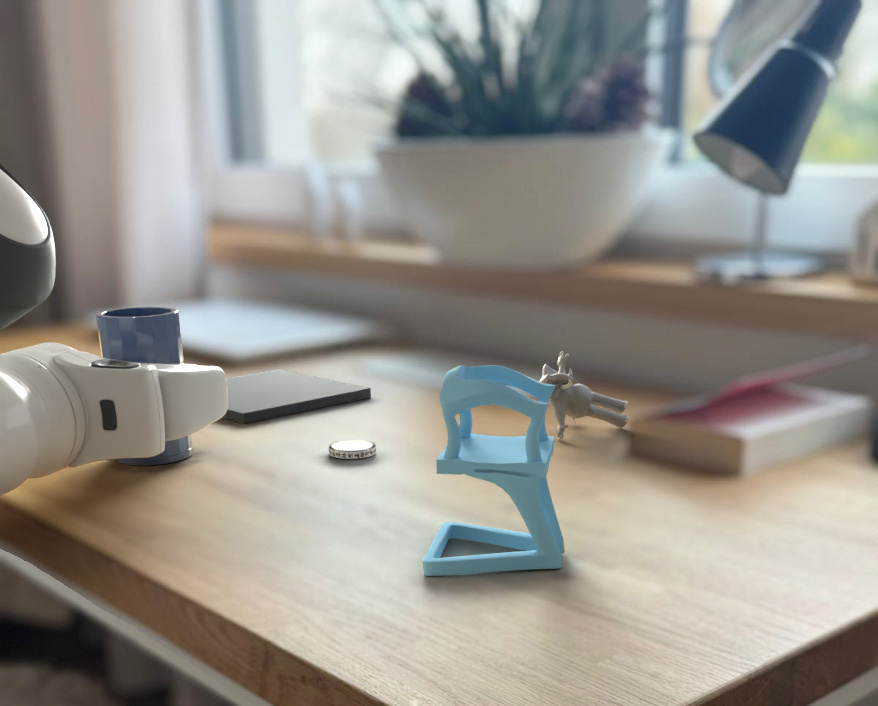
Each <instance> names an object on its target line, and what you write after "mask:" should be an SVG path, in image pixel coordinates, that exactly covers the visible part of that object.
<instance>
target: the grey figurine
mask: <svg viewBox="0 0 878 706" xmlns="http://www.w3.org/2000/svg"><path fill="white" fill-rule="evenodd" d="M569 356H570V354H569V353H566V354H565V350H561V351H560V352H559V353H558V357H557V358H558V359H557V362H556V366H557V367H558V371H556V370H555V369H553V368H552V367H550V366H549V365H548V363H545V364H544V365H543V366H542V370H541V371H542V372H541V373H542V376H541V378H540V379H539V380H538V381H539V382H542V383H545V384H551V385H555V388H554V390H553V393H552V395H551V397H550V399H549V404H550V406H551V407H552V408H553V411H554V417H555V420H556V423H557V427H556V429H555V434H556V436H557V438H556V440H558V441H561V440H562V439H563V437H564V432H565V430H566V428H569V425H568V424H566V421H565V420H566V417H570V418H571V419H572V421H573V422H574V424H575V425H576V423H577V422H576V419H581V418H582V419H583V418H586V417H590V418H593V419H597V420H601V421H603V422H606V423H609V424H611V425H613V426H615V427H618V428H620V429H622V428H624V427H626V425H627V424H628V423H629V419H630V416H629V414H622V413H623V412H625V410H626V409H627V407H628V404H629V402H628V401H627V400H622V399H617V398H613V397H611V396H607V395H603V394H601V393H598V392H595V391H592V389H591V388H589V386H587V385H585V384H582V383H575V382H574V381H575V379H574V377H573V370H572V368H571V367H569V372H568V374H567V373H566V366H567V361H568V359H569ZM574 383H575V384H574Z"/></svg>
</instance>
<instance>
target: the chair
mask: <svg viewBox="0 0 878 706" xmlns="http://www.w3.org/2000/svg"><path fill="white" fill-rule="evenodd" d="M539 381H540V380H536V379H534V378H532V377H529V376H527V375H526V374H523V373H522V372H519V371H517V370H515V369H513V368H509V367H506V366H505V365H497V364H488V365H486V364H485V365H478V366H477V365H476V366H465V365H458V366H456V367H454V368H451V369H449V370H448V371H447V372H446V374H445V375H444V378H443V381H442V385H441V388H440V392H439V402H440V407H441V412H442V416H443V419H444V423H445V426H446V431H447V442H446V446H445V447H444V449H443V450H442V451H441V452H440V453H439V455H438V456H437V458H436V460H435V461H436V474H437V475H455V476H456V475H466V476H468V477H471V478H474V479H478V480H482V481H485V482H489V483H491V484H494V485H495V486H498V487H499V488H500V489H502V490H503V491H504V492H505V493H506V494H507V495H508V496H509V497H510V499H511V501H512V502H513V504H514V505H515V507H516V508H517V511H518V512H519V514H520V516H521V518H522V520H523V521H524V524H525V526H526V528H527V530H528V532H529V533H528V532H522V531H515V530H510V529H504V528H498V527H497V528H496V527H491V526H484V525H478V524H471V523H465V522H458V521H457V522H456V521H446V522H443V523H442V524H441V525H440V527H439V529H438V530H437V533H436V534H435V536H434V538H433V540H432V542H431V544H430V545H429V548H428V550H427V552H426V554H425V555H424V557H423V560H422V568H423V569H422V570H423V575H424V576H426V577H437V576H454V575H470V574H480V573H481V574H482V573H495V572H496V573H497V572H512V571H524V570H529V571H530V570H554V569H555V570H556V569H561V568H562V567H563V561H562V555H563V554H564V553H565V552H566V551H565V541H564V537H563V533H562V530H561V527H560V523H559V519H558V516H557V513H556V509H555V506H554V503H553V499H552V495H551V492H550V487H549V483H548V479H547V475H548V472H549V468H550V463H551V459H552V457H553V454H554V451H555V436H554V435H548V433H547V429H546V428H547V427H546V418H547V417H546V416H547V412H548V407H549V405H550V400H551V399H550V397H551V395H552V393H553V390H554V388H555V385H551V384H545V383H542V382H539ZM512 387H513V388H512ZM514 388H516V389H519V390H522V391H523V392H525V393H527V394H530V395H531V396H533V397H534V398H536V399H537V400H536V399H533V398H531V397H528V396H526V395H525V394H522V393H521V392H519V391H517V390H516V389H514ZM491 405H493V406H498V407H499V406H500V407H505V408H507V409H510V410H513V411H516V412H518V413H519V414H522V415H524V416H525V417H527V418H529V419H530V422H529V424H528V427H527V430H526V434H525V435H520V436H519V435H517V436H512V435H511V436H509V435H490V434H481V433H472V430H473V416H472V415H473V414H472V410H471V409H474V408H477V407H482V406H491ZM457 415H459V424H458V421H457V419H456V416H457ZM450 539H461V540H466V541H472V542H478V543H483V544H488V545H493V546H499V547H504V548H509V549H515V550H519V551H508V552H495V553H483V554H470V555H459V556H447V557H441V556H442V554H443V553H444V551H445V548H446V546H447V544H448V542H449V540H450Z"/></svg>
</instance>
